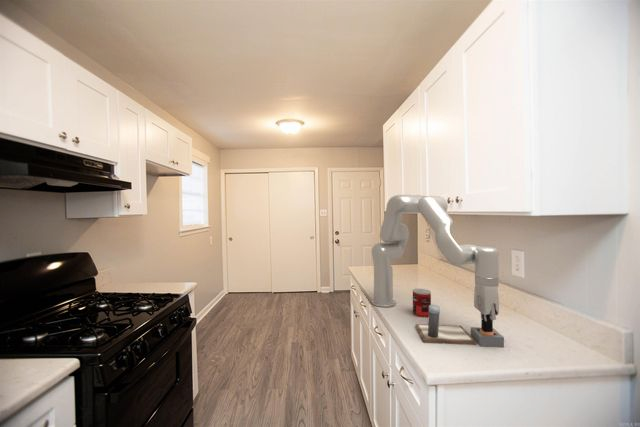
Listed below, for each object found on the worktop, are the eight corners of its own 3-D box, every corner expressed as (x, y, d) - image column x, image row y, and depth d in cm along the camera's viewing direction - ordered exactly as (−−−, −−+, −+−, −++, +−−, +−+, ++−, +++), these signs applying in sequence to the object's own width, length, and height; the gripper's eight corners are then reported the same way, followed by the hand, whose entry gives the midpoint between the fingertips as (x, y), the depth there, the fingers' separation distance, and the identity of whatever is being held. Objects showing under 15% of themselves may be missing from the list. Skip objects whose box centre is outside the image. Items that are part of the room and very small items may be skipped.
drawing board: (415, 327, 118) (415, 323, 118) (461, 328, 116) (461, 325, 116) (423, 342, 104) (423, 338, 104) (475, 344, 102) (475, 340, 102)
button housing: (470, 336, 109) (470, 327, 109) (492, 337, 108) (492, 327, 108) (479, 346, 101) (479, 336, 101) (503, 347, 100) (503, 337, 100)
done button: (477, 336, 107) (477, 328, 107) (490, 336, 107) (490, 328, 107) (482, 341, 103) (482, 333, 103) (495, 342, 102) (495, 333, 102)
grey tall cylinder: (426, 332, 109) (428, 304, 108) (437, 333, 108) (439, 305, 108) (428, 337, 105) (429, 308, 105) (439, 338, 105) (440, 309, 104)
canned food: (414, 310, 138) (414, 287, 138) (432, 313, 134) (432, 289, 134) (411, 315, 131) (410, 291, 131) (429, 318, 127) (429, 294, 127)
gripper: (467, 276, 112) (468, 322, 112) (485, 286, 97) (485, 339, 97) (487, 276, 111) (488, 323, 111) (508, 286, 96) (509, 340, 97)
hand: (487, 330), depth 104 cm, fingers closed
